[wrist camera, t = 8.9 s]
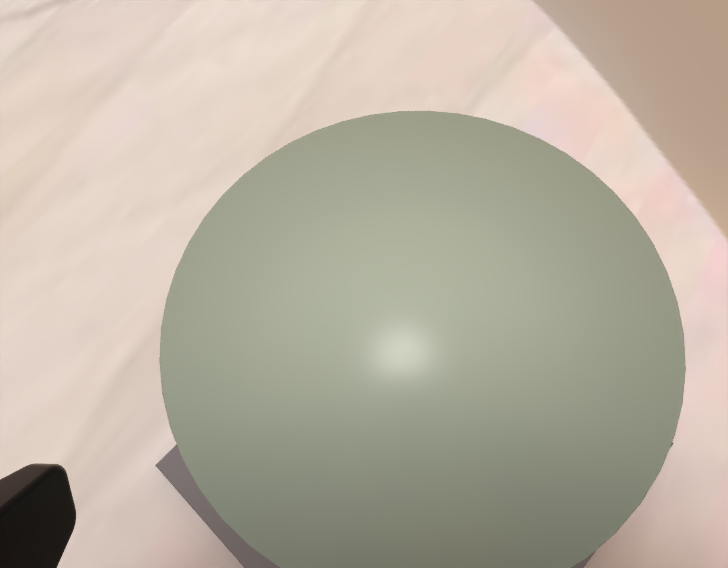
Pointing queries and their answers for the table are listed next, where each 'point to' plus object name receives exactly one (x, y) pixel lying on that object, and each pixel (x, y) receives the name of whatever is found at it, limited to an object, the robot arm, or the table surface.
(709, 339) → the table surface
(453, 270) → the sage cover
